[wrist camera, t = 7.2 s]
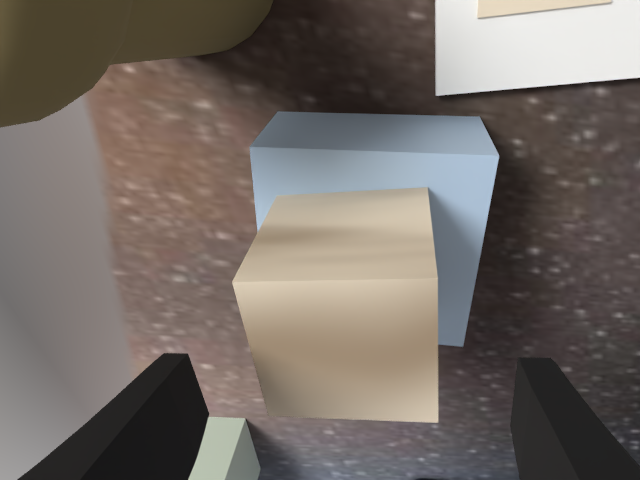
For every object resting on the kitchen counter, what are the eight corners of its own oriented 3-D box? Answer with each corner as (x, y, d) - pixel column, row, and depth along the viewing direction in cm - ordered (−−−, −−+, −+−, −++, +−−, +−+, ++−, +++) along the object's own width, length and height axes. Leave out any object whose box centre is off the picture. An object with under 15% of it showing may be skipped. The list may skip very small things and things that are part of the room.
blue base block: (452, 279, 20) (462, 346, 16) (288, 268, 21) (267, 329, 17) (478, 114, 16) (499, 155, 13) (279, 109, 17) (249, 146, 14)
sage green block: (261, 467, 28) (239, 547, 24) (191, 463, 29) (159, 539, 25) (245, 417, 26) (219, 496, 22) (170, 414, 27) (132, 489, 23)
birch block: (429, 309, 16) (438, 422, 12) (299, 310, 17) (268, 416, 13) (427, 187, 14) (437, 278, 10) (277, 195, 14) (232, 281, 11)
